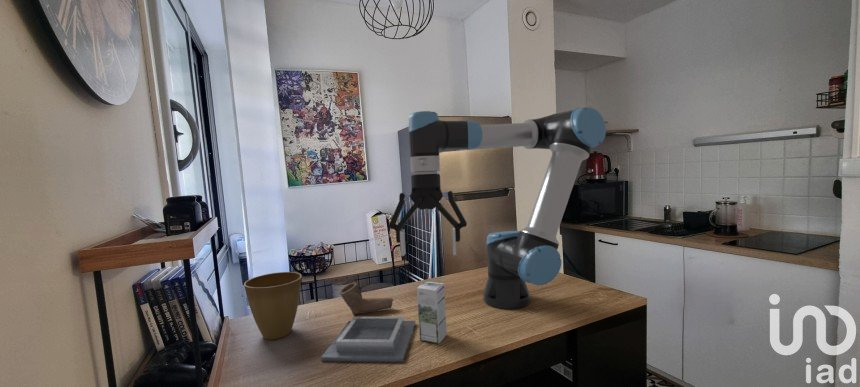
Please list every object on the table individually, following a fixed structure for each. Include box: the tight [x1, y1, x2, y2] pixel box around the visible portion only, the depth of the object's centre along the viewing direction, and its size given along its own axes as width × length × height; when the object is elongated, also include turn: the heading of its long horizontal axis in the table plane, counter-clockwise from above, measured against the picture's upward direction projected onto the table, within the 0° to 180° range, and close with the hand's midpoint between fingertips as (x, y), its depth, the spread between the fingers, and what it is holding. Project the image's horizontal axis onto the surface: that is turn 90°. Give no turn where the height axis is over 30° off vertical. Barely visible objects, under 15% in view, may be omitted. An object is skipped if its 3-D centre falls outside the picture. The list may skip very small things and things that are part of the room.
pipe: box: [339, 282, 394, 315], centre depth 111 cm, size 6×17×10 cm, turn 101°
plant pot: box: [243, 271, 302, 340], centre depth 100 cm, size 15×15×16 cm
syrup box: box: [416, 281, 448, 344], centre depth 93 cm, size 6×6×14 cm
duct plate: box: [320, 316, 416, 363], centre depth 93 cm, size 20×20×4 cm
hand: (428, 254), depth 92 cm, fingers open, 13 cm apart
